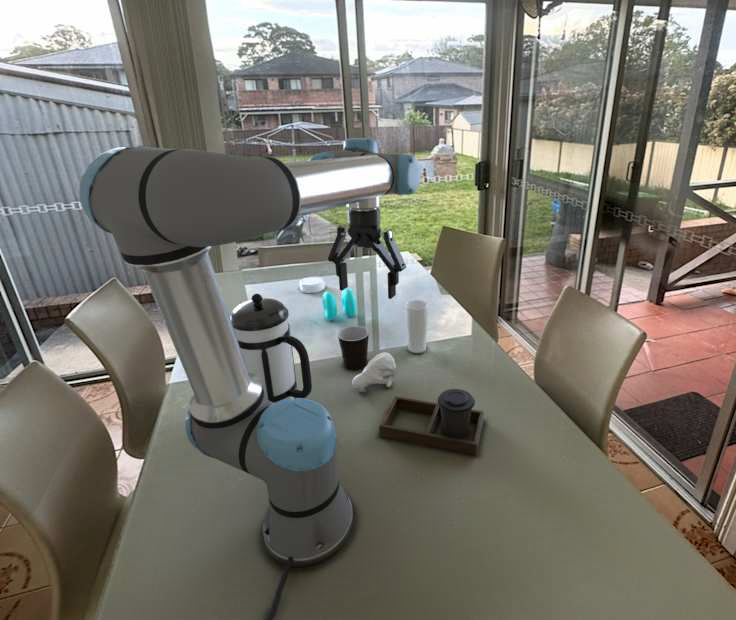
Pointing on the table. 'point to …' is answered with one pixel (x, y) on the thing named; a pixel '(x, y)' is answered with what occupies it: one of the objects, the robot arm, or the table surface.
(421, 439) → the frame
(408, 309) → the drinking glass
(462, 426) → the coffee cup
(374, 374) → the white lumpy figurine
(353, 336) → the coffee mug
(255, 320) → the coffee press
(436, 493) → the table surface
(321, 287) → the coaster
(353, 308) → the cyan wheel pair
